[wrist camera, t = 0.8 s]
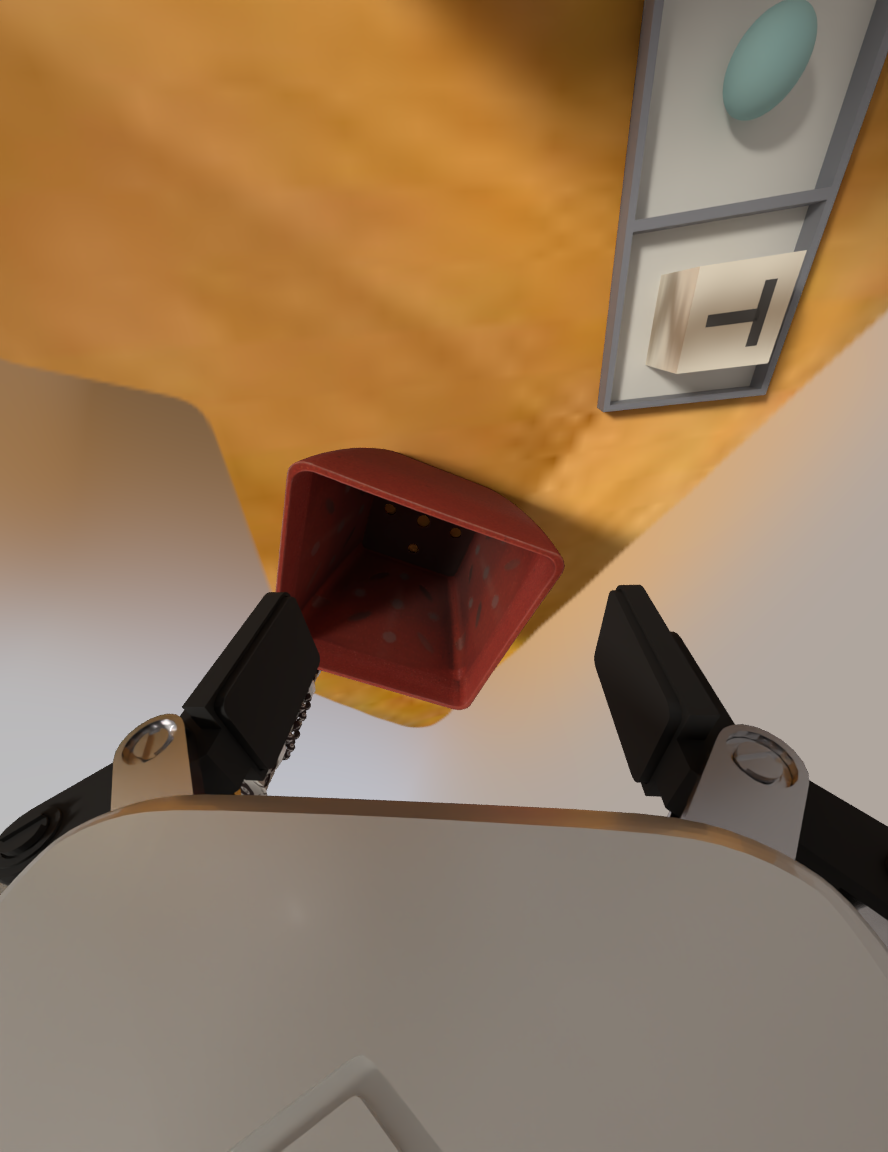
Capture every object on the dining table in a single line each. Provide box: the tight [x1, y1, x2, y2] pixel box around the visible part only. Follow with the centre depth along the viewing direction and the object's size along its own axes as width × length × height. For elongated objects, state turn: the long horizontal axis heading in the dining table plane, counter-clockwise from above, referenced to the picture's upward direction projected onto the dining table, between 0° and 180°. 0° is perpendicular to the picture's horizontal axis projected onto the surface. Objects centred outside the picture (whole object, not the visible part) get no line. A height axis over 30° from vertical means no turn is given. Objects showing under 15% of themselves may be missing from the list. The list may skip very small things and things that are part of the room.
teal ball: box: [723, 0, 817, 121], centre depth 21 cm, size 4×4×4 cm
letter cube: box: [646, 250, 807, 374], centre depth 26 cm, size 6×6×6 cm
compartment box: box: [597, 0, 888, 412], centre depth 25 cm, size 24×13×2 cm, turn 7°
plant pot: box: [276, 448, 565, 710], centre depth 35 cm, size 19×19×17 cm
